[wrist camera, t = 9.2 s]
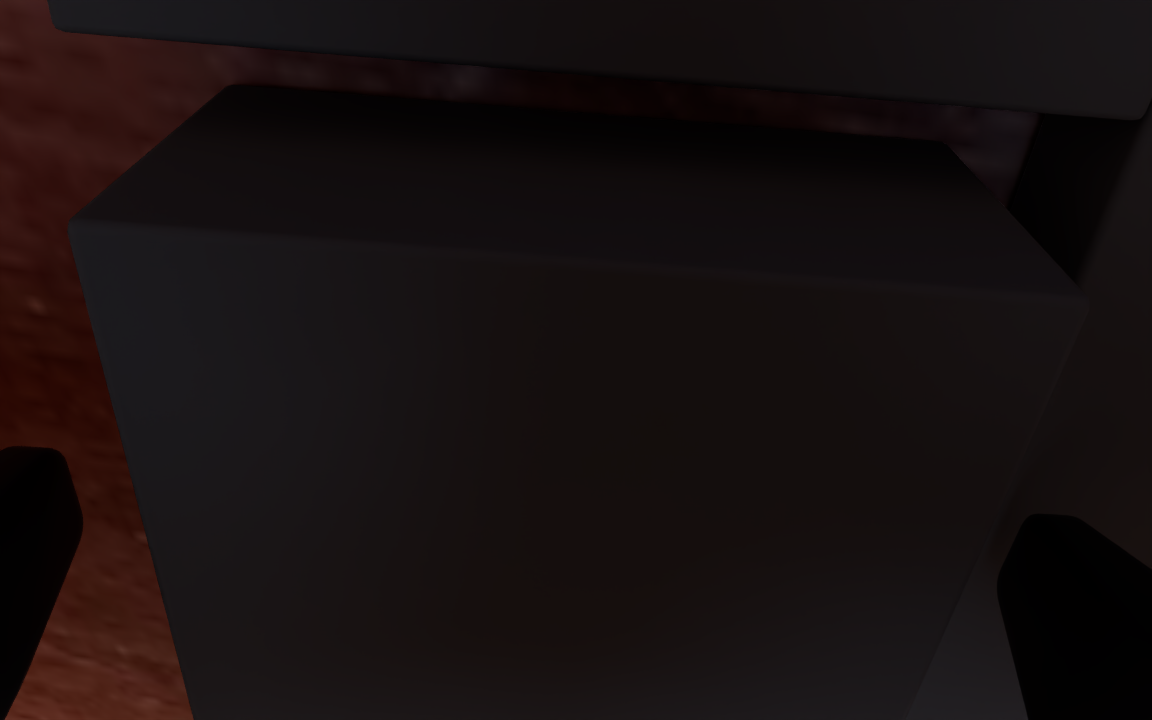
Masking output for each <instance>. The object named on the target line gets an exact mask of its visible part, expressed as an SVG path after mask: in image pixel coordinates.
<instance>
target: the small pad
mask: <svg viewBox="0 0 1152 720" xmlns="http://www.w3.org/2000/svg"><path fill="white" fill-rule="evenodd" d="M67 233H68V236H69V240H70V244H71V248H72V252H73V256H74V260H75V263H76V267H77V271H78V275H79V279H80V283H81V287H82V290H83V294H84V298H85V302H86V306H87V310H88V314H89V317H90V321H91V325H92V329H93V333H94V337H95V341H96V344H97V348H98V352H99V356H100V360H101V364H102V367H103V371H104V375H105V379H106V383H107V387H108V391H109V394H110V398H111V402H112V406H113V410H114V414H115V418H116V421H117V425H118V429H119V433H120V437H121V441H122V445H123V448H124V452H125V456H126V460H127V464H128V468H129V472H130V475H131V479H132V483H133V487H134V491H135V495H136V498H137V502H138V506H139V510H140V514H141V518H142V522H143V525H144V529H145V533H146V537H147V541H148V545H149V549H150V552H151V556H152V560H153V564H154V568H155V572H156V576H157V579H158V583H159V587H160V591H161V595H162V599H163V603H164V606H165V610H166V614H167V618H168V622H169V626H170V630H171V633H172V637H173V641H174V645H175V649H176V653H177V656H178V660H179V664H180V668H181V672H182V676H183V680H184V683H185V687H186V691H187V695H188V699H189V703H190V707H191V710H192V714H193V718H194V720H905V719H906V717H907V715H908V712H909V710H910V708H911V706H912V704H913V701H914V699H915V697H916V695H917V692H918V690H919V688H920V686H921V683H922V681H923V679H924V677H925V675H926V672H927V670H928V668H929V666H930V663H931V661H932V659H933V657H934V655H935V652H936V650H937V648H938V646H939V643H940V641H941V639H942V637H943V635H944V632H945V630H946V628H947V626H948V623H949V621H950V619H951V617H952V614H953V612H954V610H955V608H956V606H957V603H958V601H959V599H960V597H961V594H962V592H963V590H964V588H965V586H966V583H967V581H968V579H969V577H970V574H971V572H972V570H973V568H974V566H975V563H976V561H977V559H978V557H979V554H980V552H981V550H982V548H983V545H984V543H985V541H986V539H987V537H988V534H989V532H990V530H991V528H992V525H993V523H994V521H995V519H996V517H997V514H998V512H999V510H1000V508H1001V505H1002V503H1003V501H1004V499H1005V497H1006V494H1007V492H1008V490H1009V488H1010V485H1011V483H1012V481H1013V479H1014V476H1015V474H1016V472H1017V470H1018V468H1019V465H1020V463H1021V461H1022V459H1023V456H1024V454H1025V452H1026V450H1027V448H1028V445H1029V443H1030V441H1031V439H1032V436H1033V434H1034V432H1035V430H1036V428H1037V425H1038V423H1039V421H1040V419H1041V416H1042V414H1043V412H1044V410H1045V407H1046V405H1047V403H1048V401H1049V399H1050V396H1051V394H1052V392H1053V390H1054V387H1055V385H1056V383H1057V381H1058V379H1059V376H1060V374H1061V372H1062V370H1063V367H1064V365H1065V363H1066V361H1067V358H1068V356H1069V354H1070V352H1071V350H1072V347H1073V345H1074V343H1075V341H1076V338H1077V336H1078V334H1079V332H1080V330H1081V327H1082V325H1083V323H1084V321H1085V318H1086V316H1087V314H1088V312H1089V305H1090V302H1089V298H1088V297H1087V296H1086V294H1085V293H1084V292H1083V291H1082V290H1081V289H1080V288H1079V287H1078V286H1077V285H1076V284H1075V283H1074V281H1073V280H1072V279H1071V278H1070V277H1069V276H1068V275H1067V274H1066V273H1065V272H1064V271H1063V270H1062V268H1061V267H1060V266H1059V265H1058V264H1057V263H1056V262H1055V261H1054V260H1053V259H1052V258H1051V257H1050V255H1049V254H1048V253H1047V252H1046V251H1045V250H1044V249H1043V248H1042V247H1041V246H1040V245H1039V243H1038V242H1037V241H1036V240H1035V239H1034V238H1033V237H1032V236H1031V235H1030V234H1029V233H1028V232H1027V230H1026V229H1025V228H1024V227H1023V226H1022V225H1021V224H1020V223H1019V222H1018V221H1017V220H1016V219H1015V217H1014V216H1013V215H1012V214H1011V213H1010V212H1009V211H1008V210H1007V209H1006V208H1005V207H1004V206H1003V204H1002V203H1001V202H1000V201H999V200H998V199H997V198H996V197H995V196H994V195H993V194H992V193H991V191H990V190H989V189H988V188H987V187H986V186H985V185H984V184H983V183H982V182H981V181H980V180H979V178H978V177H977V176H976V175H975V174H974V173H973V172H972V171H971V170H970V169H969V168H968V167H967V165H966V164H965V163H964V162H963V161H962V160H961V159H960V158H959V157H958V156H957V155H956V154H955V152H954V151H953V150H952V149H951V148H950V147H949V146H948V145H947V144H945V143H943V142H936V141H924V140H912V139H899V138H887V137H874V136H862V135H849V134H837V133H825V132H812V131H800V130H787V129H775V128H763V127H750V126H738V125H725V124H713V123H701V122H688V121H676V120H663V119H651V118H639V117H626V116H614V115H601V114H589V113H576V112H564V111H552V110H539V109H527V108H514V107H502V106H490V105H477V104H465V103H452V102H440V101H428V100H415V99H403V98H390V97H378V96H366V95H353V94H341V93H328V92H316V91H304V90H291V89H279V88H266V87H254V86H241V85H229V86H226V87H225V88H223V89H222V90H221V91H220V92H219V93H218V94H216V95H215V96H214V97H213V98H212V99H211V100H209V101H208V102H207V103H206V104H205V105H203V106H202V107H201V108H200V109H199V110H198V111H196V112H195V113H194V114H193V115H192V116H191V117H189V118H188V119H187V120H186V121H185V122H184V123H182V124H181V125H180V126H179V127H178V128H176V129H175V130H174V131H173V132H172V133H171V134H169V135H168V136H167V137H166V138H165V139H164V140H162V141H161V142H160V143H159V144H158V145H156V146H155V147H154V148H153V149H152V150H151V151H149V152H148V153H147V154H146V155H145V156H144V157H142V158H141V159H140V160H139V161H138V162H137V163H135V164H134V165H133V166H132V167H131V168H129V169H128V170H127V171H126V172H125V173H124V174H122V175H121V176H120V177H119V178H118V179H117V180H115V181H114V182H113V183H112V184H111V185H110V186H108V187H107V188H106V189H105V190H104V191H102V192H101V193H100V194H99V195H98V196H97V197H95V198H94V199H93V200H92V201H91V202H90V203H88V204H87V205H86V206H85V207H84V208H82V209H81V210H80V211H79V212H78V213H77V214H75V215H74V216H73V217H72V218H71V219H70V220H69V223H68V230H67Z"/></svg>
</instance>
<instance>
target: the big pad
mask: <svg viewBox="0 0 1152 720" xmlns="http://www.w3.org/2000/svg"><path fill="white" fill-rule="evenodd" d="M47 2H48V6H49V10H50V15H51V19H52V23H53V24H54V26H55V28H56V29H58V30H61V31H64V32H70V33H82V34H94V35H106V36H118V37H130V38H142V39H154V40H166V41H178V42H190V43H202V44H214V45H226V46H238V47H251V48H263V49H275V50H287V51H299V52H311V53H323V54H335V55H347V56H359V57H371V58H383V59H395V60H407V61H419V62H431V63H443V64H455V65H467V66H479V67H492V68H504V69H516V70H528V71H540V72H552V73H564V74H576V75H588V76H600V77H612V78H624V79H636V80H648V81H660V82H672V83H684V84H696V85H708V86H720V87H733V88H745V89H757V90H769V91H781V92H793V93H805V94H817V95H829V96H841V97H853V98H865V99H877V100H889V101H901V102H913V103H925V104H937V105H949V106H961V107H973V108H986V109H998V110H1010V111H1022V112H1034V113H1046V115H1045V118H1044V120H1043V123H1042V126H1041V128H1040V131H1039V134H1038V137H1037V139H1036V142H1035V145H1034V147H1033V150H1032V153H1031V155H1030V158H1029V161H1028V164H1027V166H1026V169H1025V172H1024V174H1023V177H1022V180H1021V183H1020V185H1019V188H1018V191H1017V193H1016V196H1015V199H1014V202H1013V204H1012V207H1011V210H1010V213H1011V214H1012V215H1013V216H1014V217H1015V219H1016V220H1017V221H1018V222H1019V223H1020V224H1021V225H1022V226H1023V227H1024V228H1025V229H1026V230H1027V232H1028V233H1029V234H1030V235H1031V236H1032V237H1033V238H1034V239H1035V240H1036V241H1037V242H1038V243H1039V245H1040V246H1041V247H1042V248H1043V249H1044V250H1045V251H1046V252H1047V253H1048V254H1049V255H1050V257H1051V258H1052V259H1053V260H1054V261H1055V262H1056V263H1057V264H1058V265H1059V266H1060V267H1061V268H1062V270H1063V271H1064V272H1065V273H1066V274H1067V275H1068V276H1069V277H1070V278H1071V279H1072V280H1073V281H1074V283H1075V284H1076V285H1077V286H1078V287H1079V288H1080V289H1081V290H1082V291H1083V292H1084V293H1085V294H1086V296H1087V297H1088V298H1089V302H1090V305H1089V312H1088V314H1087V316H1086V318H1085V321H1084V323H1083V325H1082V327H1081V330H1080V332H1079V334H1078V336H1077V338H1076V341H1075V343H1074V345H1073V347H1072V350H1071V352H1070V354H1069V356H1068V358H1067V361H1066V363H1065V365H1064V367H1063V370H1062V372H1061V374H1060V376H1059V379H1058V381H1057V383H1056V385H1055V387H1054V390H1053V392H1052V394H1051V396H1050V399H1049V401H1048V403H1047V405H1046V407H1045V410H1044V412H1043V414H1042V416H1041V419H1040V421H1039V423H1038V425H1037V428H1036V430H1035V432H1034V434H1033V436H1032V439H1031V441H1030V443H1029V445H1028V448H1027V450H1026V452H1025V454H1024V456H1023V459H1022V461H1021V463H1020V465H1019V468H1018V470H1017V472H1016V474H1015V476H1014V479H1013V481H1012V483H1011V485H1010V488H1009V490H1008V492H1007V494H1006V497H1005V499H1004V501H1003V503H1002V505H1001V508H1000V510H999V512H998V514H997V517H996V519H995V521H994V523H993V525H992V528H991V530H990V532H989V534H988V537H987V539H986V541H985V543H984V545H983V548H982V550H981V552H980V554H979V557H978V559H977V561H976V563H975V566H974V568H973V570H972V572H971V574H970V577H969V579H968V581H967V583H966V586H965V588H964V590H963V592H962V594H961V597H960V599H959V601H958V603H957V606H956V608H955V610H954V612H953V614H952V617H951V619H950V621H949V623H948V626H947V628H946V630H945V632H944V635H943V637H942V639H941V641H940V643H939V646H938V648H937V650H936V652H935V655H934V657H933V659H932V661H931V663H930V666H929V668H928V670H927V672H926V675H925V677H924V679H923V681H922V683H921V686H920V688H919V690H918V692H917V695H916V697H915V699H914V701H913V704H912V706H911V708H910V710H909V712H908V715H907V717H906V719H905V720H1028V717H1027V713H1026V709H1025V705H1024V701H1023V697H1022V693H1021V689H1020V685H1019V681H1018V677H1017V673H1016V669H1015V666H1014V662H1013V658H1012V654H1011V650H1010V646H1009V642H1008V638H1007V634H1006V630H1005V626H1004V622H1003V618H1002V614H1001V610H1000V606H999V602H998V597H997V580H998V575H999V572H1000V569H1001V567H1002V565H1003V563H1004V561H1005V559H1006V557H1007V555H1008V552H1009V550H1010V548H1011V546H1012V544H1013V542H1014V540H1015V538H1016V536H1017V533H1018V531H1019V529H1020V527H1021V525H1022V523H1023V522H1024V520H1025V519H1026V518H1028V517H1029V516H1030V515H1033V514H1038V513H1041V514H1057V515H1069V516H1074V517H1077V518H1079V519H1081V520H1083V521H1084V522H1086V523H1087V524H1088V525H1090V526H1091V527H1093V528H1094V529H1095V530H1097V531H1098V532H1100V533H1101V534H1102V535H1104V536H1105V537H1107V538H1108V539H1110V540H1111V541H1112V542H1114V543H1115V544H1117V545H1118V546H1119V547H1121V548H1122V549H1124V550H1125V551H1126V552H1128V553H1129V554H1131V555H1132V556H1134V557H1135V558H1136V559H1138V560H1139V561H1141V562H1142V563H1143V564H1145V565H1146V566H1148V567H1149V568H1150V569H1152V0H47Z"/></svg>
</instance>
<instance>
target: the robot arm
mask: <svg viewBox="0 0 1152 720" xmlns="http://www.w3.org/2000/svg"><path fill="white" fill-rule="evenodd" d="M82 531H83V515H82V510H81V507H80V504H79V501H78V497H77V494H76V491H75V488H74V484H73V481H72V478H71V475H70V471H69V468H68V465H67V462H66V460H65V457H64V456H63V455H62V454H61V453H60V452H59V451H58V450H55V449H52V448H42V447H27V446H12V447H8V448H6V449H3V450H1V451H0V720H5V718H6V716H7V714H8V712H9V710H10V708H11V706H12V704H13V702H14V700H15V698H16V696H17V694H18V692H19V690H20V688H21V685H22V683H23V681H24V679H25V676H26V674H27V672H28V669H29V667H30V665H31V662H32V660H33V657H34V655H35V652H36V650H37V647H38V645H39V642H40V640H41V637H42V635H43V632H44V630H45V627H46V625H47V622H48V620H49V617H50V615H51V612H52V610H53V607H54V605H55V602H56V600H57V597H58V595H59V592H60V590H61V587H62V585H63V582H64V580H65V577H66V575H67V572H68V570H69V567H70V565H71V562H72V560H73V558H74V555H75V553H76V550H77V548H78V545H79V542H80V539H81V536H82ZM997 597H998V602H999V606H1000V610H1001V614H1002V618H1003V622H1004V626H1005V630H1006V634H1007V638H1008V642H1009V646H1010V650H1011V654H1012V658H1013V662H1014V666H1015V669H1016V673H1017V677H1018V681H1019V685H1020V689H1021V693H1022V697H1023V701H1024V705H1025V709H1026V713H1027V717H1028V720H1152V569H1150V568H1149V567H1148V566H1146V565H1145V564H1143V563H1142V562H1141V561H1139V560H1138V559H1136V558H1135V557H1134V556H1132V555H1131V554H1129V553H1128V552H1126V551H1125V550H1124V549H1122V548H1121V547H1119V546H1118V545H1117V544H1115V543H1114V542H1112V541H1111V540H1110V539H1108V538H1107V537H1105V536H1104V535H1102V534H1101V533H1100V532H1098V531H1097V530H1095V529H1094V528H1093V527H1091V526H1090V525H1088V524H1087V523H1086V522H1084V521H1083V520H1081V519H1079V518H1077V517H1074V516H1069V515H1057V514H1041V513H1038V514H1033V515H1030V516H1029V517H1028V518H1026V519H1025V520H1024V522H1023V523H1022V525H1021V527H1020V529H1019V531H1018V533H1017V536H1016V538H1015V540H1014V542H1013V544H1012V546H1011V548H1010V550H1009V552H1008V555H1007V557H1006V559H1005V561H1004V563H1003V565H1002V567H1001V569H1000V572H999V575H998V580H997Z"/></svg>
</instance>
